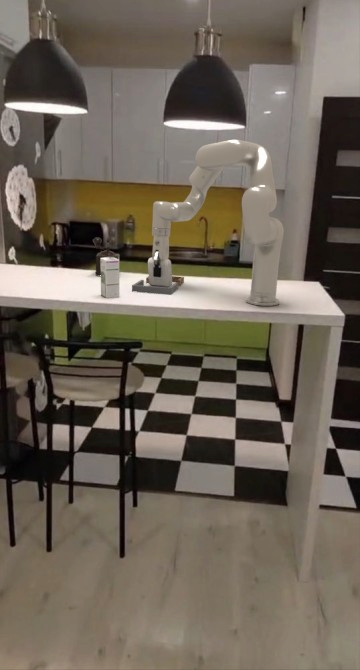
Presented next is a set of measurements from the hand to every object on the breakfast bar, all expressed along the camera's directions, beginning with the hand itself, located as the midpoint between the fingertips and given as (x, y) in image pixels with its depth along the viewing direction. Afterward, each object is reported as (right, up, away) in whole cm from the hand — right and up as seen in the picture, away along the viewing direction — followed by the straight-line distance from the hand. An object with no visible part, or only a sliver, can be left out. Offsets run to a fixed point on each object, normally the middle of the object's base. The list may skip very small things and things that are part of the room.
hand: (159, 275), depth 215 cm
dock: (+2, -3, +9) cm, 9 cm away
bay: (-1, -7, -6) cm, 9 cm away
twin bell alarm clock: (-25, +2, +22) cm, 34 cm away
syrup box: (-18, -11, -22) cm, 30 cm away
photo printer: (+1, -4, +3) cm, 5 cm away
